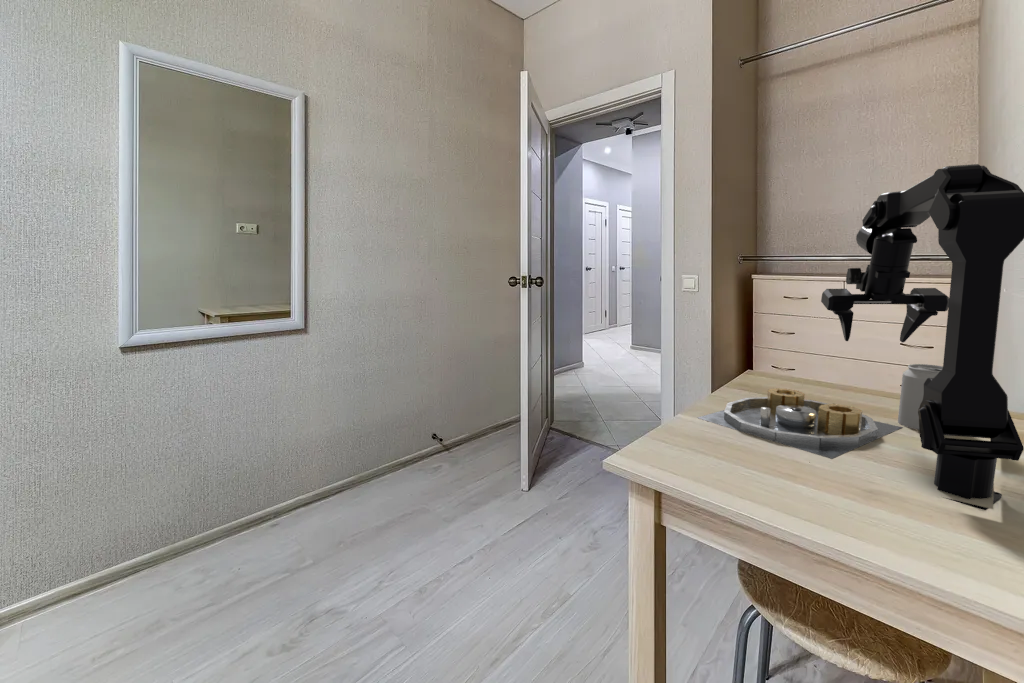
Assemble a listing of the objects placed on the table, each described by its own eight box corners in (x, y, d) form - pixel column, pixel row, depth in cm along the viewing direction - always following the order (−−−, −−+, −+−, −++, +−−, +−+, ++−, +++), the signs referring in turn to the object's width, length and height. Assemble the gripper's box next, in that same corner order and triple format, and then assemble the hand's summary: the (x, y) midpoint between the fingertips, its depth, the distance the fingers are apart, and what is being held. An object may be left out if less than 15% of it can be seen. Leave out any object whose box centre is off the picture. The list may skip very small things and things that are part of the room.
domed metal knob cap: (803, 430, 88) (804, 416, 87) (768, 421, 93) (769, 407, 93) (822, 423, 91) (823, 409, 91) (787, 414, 97) (788, 401, 96)
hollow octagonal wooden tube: (855, 439, 83) (857, 416, 82) (814, 431, 87) (815, 409, 87) (862, 429, 87) (864, 408, 87) (822, 422, 92) (824, 402, 91)
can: (960, 438, 85) (969, 371, 83) (911, 436, 86) (919, 370, 84) (933, 424, 92) (940, 362, 90) (888, 422, 94) (894, 362, 92)
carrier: (831, 464, 75) (833, 437, 75) (696, 422, 97) (697, 400, 96) (902, 432, 88) (904, 408, 87) (769, 401, 109) (770, 382, 109)
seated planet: (791, 418, 95) (792, 398, 94) (761, 410, 100) (762, 391, 99) (808, 412, 98) (810, 393, 97) (778, 405, 103) (779, 386, 102)
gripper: (931, 251, 93) (914, 326, 99) (819, 254, 99) (809, 325, 105) (960, 266, 83) (939, 348, 89) (835, 268, 89) (822, 346, 95)
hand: (873, 340), depth 95 cm, fingers open, 9 cm apart
